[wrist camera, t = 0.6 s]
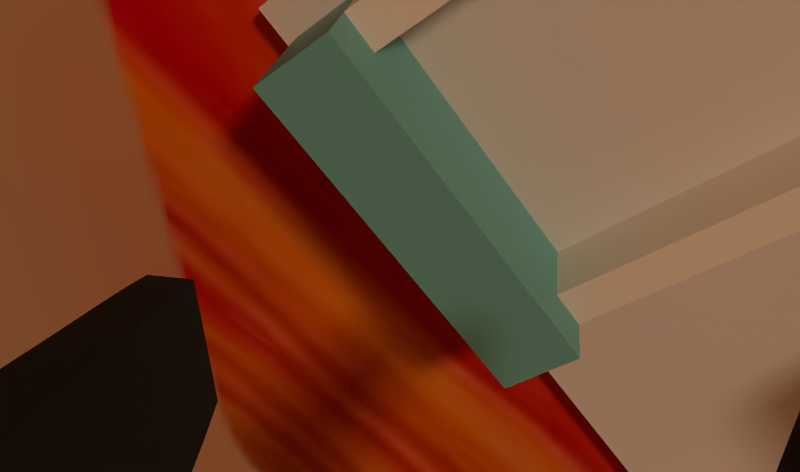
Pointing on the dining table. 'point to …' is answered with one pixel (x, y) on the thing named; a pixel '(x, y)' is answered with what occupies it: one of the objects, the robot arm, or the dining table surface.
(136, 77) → the dining table surface
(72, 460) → the robot arm
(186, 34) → the dining table surface
